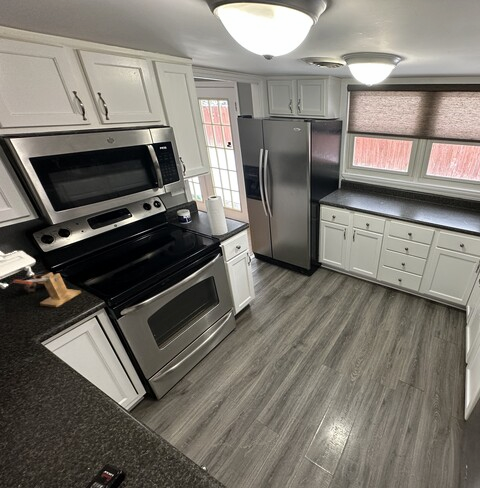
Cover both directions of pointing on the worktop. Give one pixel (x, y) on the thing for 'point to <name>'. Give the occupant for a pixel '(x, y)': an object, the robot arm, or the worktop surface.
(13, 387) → the worktop surface
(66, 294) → the bracket
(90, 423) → the worktop surface
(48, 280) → the lever
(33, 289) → the pottery mug
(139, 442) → the worktop surface
